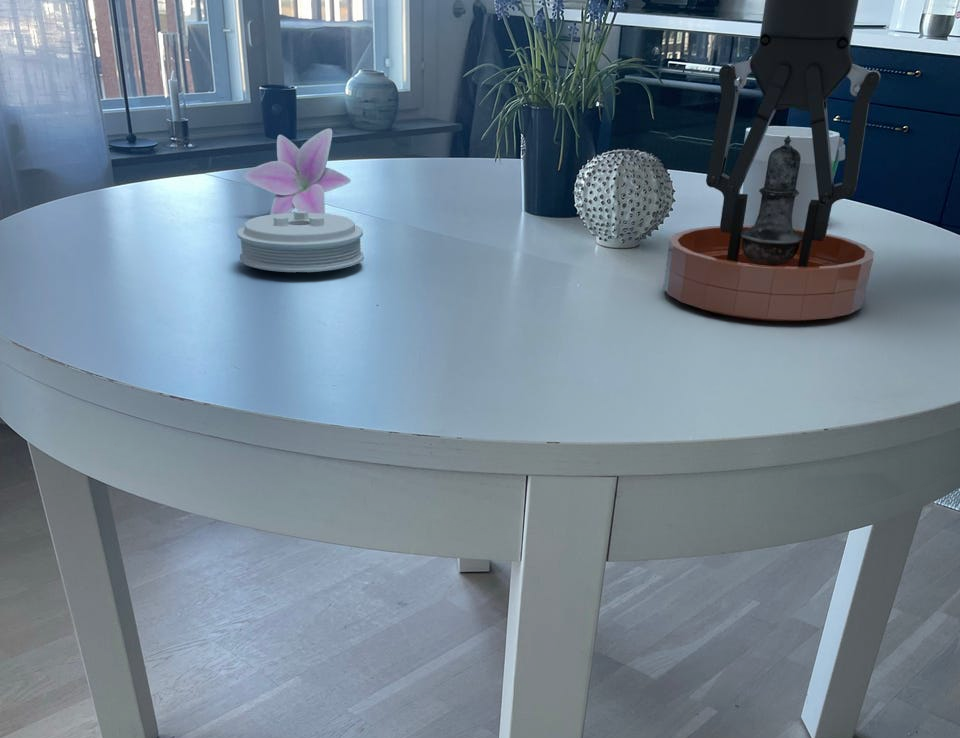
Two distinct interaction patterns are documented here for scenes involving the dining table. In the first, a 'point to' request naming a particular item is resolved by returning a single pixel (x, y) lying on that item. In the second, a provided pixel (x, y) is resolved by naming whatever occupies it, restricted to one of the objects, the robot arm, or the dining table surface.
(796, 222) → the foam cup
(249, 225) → the lid
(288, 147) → the lily
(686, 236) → the bowl
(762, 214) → the salt shaker
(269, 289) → the dining table surface
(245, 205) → the dining table surface
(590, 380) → the dining table surface
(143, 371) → the dining table surface
